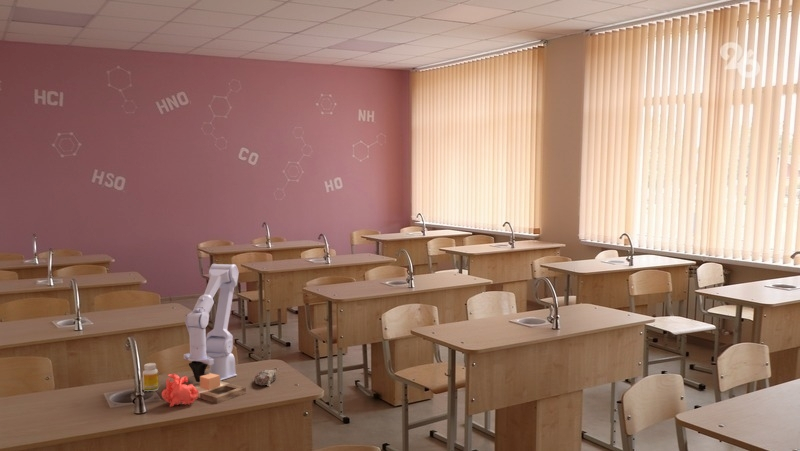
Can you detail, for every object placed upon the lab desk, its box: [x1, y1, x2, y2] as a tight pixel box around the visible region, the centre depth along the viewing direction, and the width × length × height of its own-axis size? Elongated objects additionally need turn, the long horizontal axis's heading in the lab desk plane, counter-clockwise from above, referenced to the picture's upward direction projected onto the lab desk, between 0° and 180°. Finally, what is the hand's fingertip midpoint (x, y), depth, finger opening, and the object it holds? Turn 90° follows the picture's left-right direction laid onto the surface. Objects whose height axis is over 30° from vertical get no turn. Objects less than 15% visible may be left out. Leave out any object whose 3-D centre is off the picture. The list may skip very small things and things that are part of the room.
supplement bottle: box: [142, 362, 160, 392], centre depth 249 cm, size 5×5×10 cm
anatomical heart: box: [161, 373, 199, 408], centre depth 233 cm, size 9×12×12 cm
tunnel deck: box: [171, 371, 247, 404], centre depth 247 cm, size 13×28×4 cm, turn 54°
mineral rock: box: [254, 369, 277, 387], centre depth 257 cm, size 15×8×4 cm, turn 172°
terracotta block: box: [200, 372, 220, 390], centre depth 246 cm, size 5×5×4 cm
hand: (199, 381), depth 249 cm, fingers closed
